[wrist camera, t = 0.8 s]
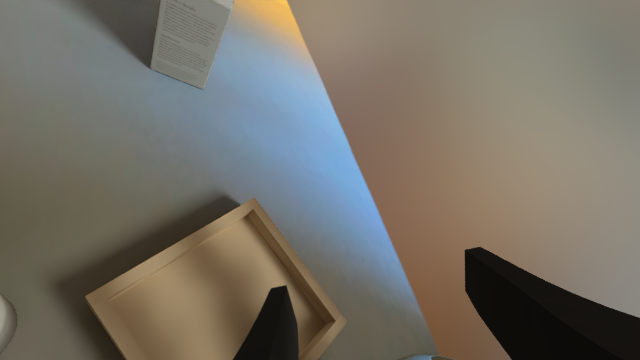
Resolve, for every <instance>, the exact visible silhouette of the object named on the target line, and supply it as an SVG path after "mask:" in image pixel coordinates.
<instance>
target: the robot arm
mask: <svg viewBox="0 0 640 360" xmlns="http://www.w3.org/2000/svg"><path fill="white" fill-rule="evenodd" d="M465 291H466V293H467V294H468V296H469V298H470V300H471V302H472V304H473V305H474V307H475V309H476V310H477V312H478V314H479V315H480V317H481V318H482V320H483V321H484V322H485V324H486V325H487V327H488V328H489V329H490V331H491V332H492V333H493V335H494V336H495V337H496V339H497V340H498V341H499V343H500V344H501V345H502V347H503V348H504V350H505V351H506V352H507V354H508V355H509V356H510V358H511V359H512V360H640V318H638V317H635V316H632V315H629V314H626V313H623V312H620V311H617V310H615V309H612V308H609V307H606V306H604V305H601V304H598V303H596V302H593V301H591V300H588V299H586V298H583V297H581V296H578V295H576V294H573V293H571V292H569V291H567V290H564V289H562V288H560V287H558V286H555V285H553V284H551V283H549V282H547V281H545V280H543V279H541V278H539V277H537V276H535V275H533V274H531V273H529V272H527V271H525V270H523V269H521V268H519V267H517V266H515V265H513V264H512V263H510V262H508V261H506V260H504V259H502V258H500V257H499V256H497V255H495V254H493V253H491V252H489V251H487V250H485V249H483V248H481V247H477V248H472V249H467V250H465ZM298 358H299V342H298V326H297V320H296V317H295V313H294V310H293V306H292V303H291V299H290V296H289V292H288V288H287V285H284V286H279V287H274V288H271V289H270V291H269V293H268V295H267V298H266V300H265V302H264V304H263V306H262V308H261V310H260V312H259V314H258V316H257V318H256V320H255V322H254V324H253V326H252V328H251V330H250V331H249V333H248V335H247V337H246V338H245V340H244V342H243V343H242V345H241V347H240V348H239V350H238V352H237V353H236V355H235V357H234V358H233V360H298Z"/></svg>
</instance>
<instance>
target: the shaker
mask: <svg viewBox="0 0 640 360" xmlns="http://www.w3.org/2000/svg"><path fill="white" fill-rule="evenodd" d="M16 327H17V313H16V310H15V308H14V306H13V304H12V303H11V302H10V301H9V300H8V299H7V298H5V297H4V296H3V295H2V294H0V354H1V353H2V351H3V350H4V349H5V348H6V347H7V345H8V344H9V343H10V341H11V339H12V338H13V336H14V333H15V331H16Z"/></svg>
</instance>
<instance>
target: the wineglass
mask: <svg viewBox="0 0 640 360" xmlns="http://www.w3.org/2000/svg"><path fill="white" fill-rule="evenodd" d="M398 360H454V359H451V358H447V357H443V356H438V355H431V354H413V355H409V356H405V357H402V358H400V359H398Z"/></svg>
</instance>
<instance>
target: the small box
mask: <svg viewBox="0 0 640 360" xmlns="http://www.w3.org/2000/svg"><path fill="white" fill-rule="evenodd" d="M233 4H234V0H160V2H159V9H158V17H157V24H156V31H155V37H154V44H153V52H152V59H151V65H150V69H152V70H154V71H157V72H160V73H162V74H165V75H167V76H170V77H172V78H175V79H177V80H180V81H182V82H185V83H188V84H190V85H193V86H195V87H198V88H200V89H204V88H205V85H206V83H207V80H208V77H209V74H210V72H211V69H212V66H213V63H214V60H215V57H216V55H217V52H218V49H219V46H220V43H221V41H222V38H223V35H224V32H225V29H226V27H227V24H228V21H229V18H230V15H231V13H232V9H233Z"/></svg>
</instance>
